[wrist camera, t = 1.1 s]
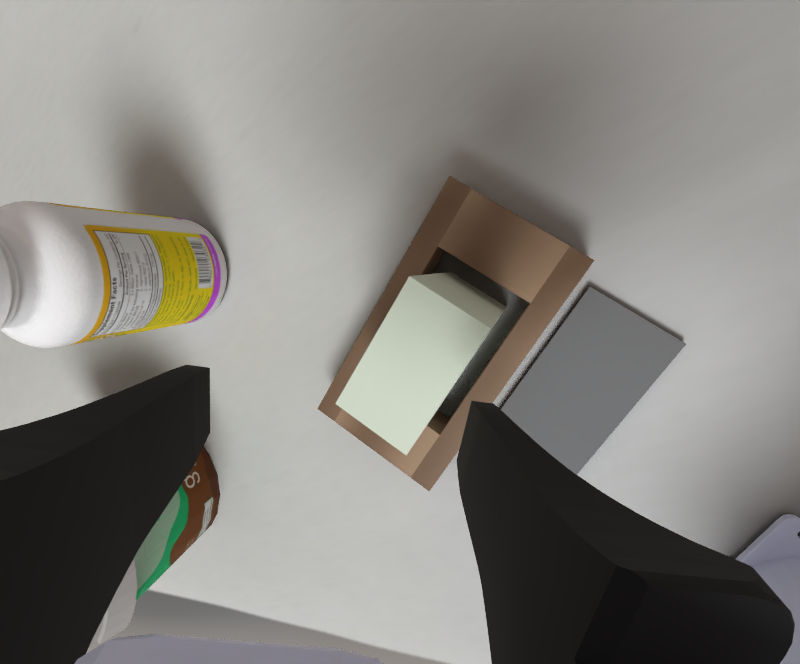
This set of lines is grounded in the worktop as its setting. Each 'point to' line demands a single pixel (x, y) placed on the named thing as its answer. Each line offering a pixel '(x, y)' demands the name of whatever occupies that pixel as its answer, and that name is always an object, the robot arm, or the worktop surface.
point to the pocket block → (498, 260)
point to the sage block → (418, 356)
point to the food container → (165, 542)
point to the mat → (589, 378)
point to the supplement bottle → (102, 273)
